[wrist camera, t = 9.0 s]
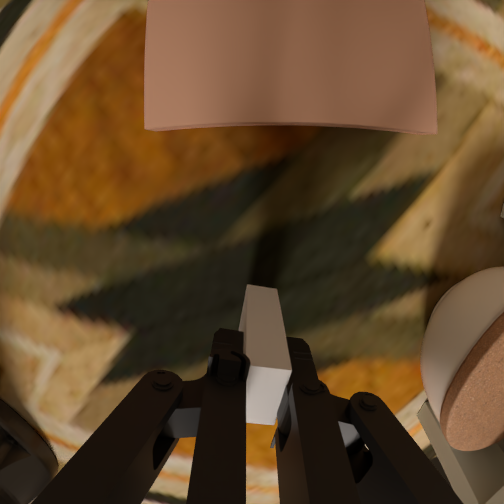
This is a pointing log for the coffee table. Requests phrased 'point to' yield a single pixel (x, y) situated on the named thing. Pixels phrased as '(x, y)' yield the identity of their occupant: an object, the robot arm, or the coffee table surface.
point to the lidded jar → (467, 361)
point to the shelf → (468, 462)
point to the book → (289, 64)
